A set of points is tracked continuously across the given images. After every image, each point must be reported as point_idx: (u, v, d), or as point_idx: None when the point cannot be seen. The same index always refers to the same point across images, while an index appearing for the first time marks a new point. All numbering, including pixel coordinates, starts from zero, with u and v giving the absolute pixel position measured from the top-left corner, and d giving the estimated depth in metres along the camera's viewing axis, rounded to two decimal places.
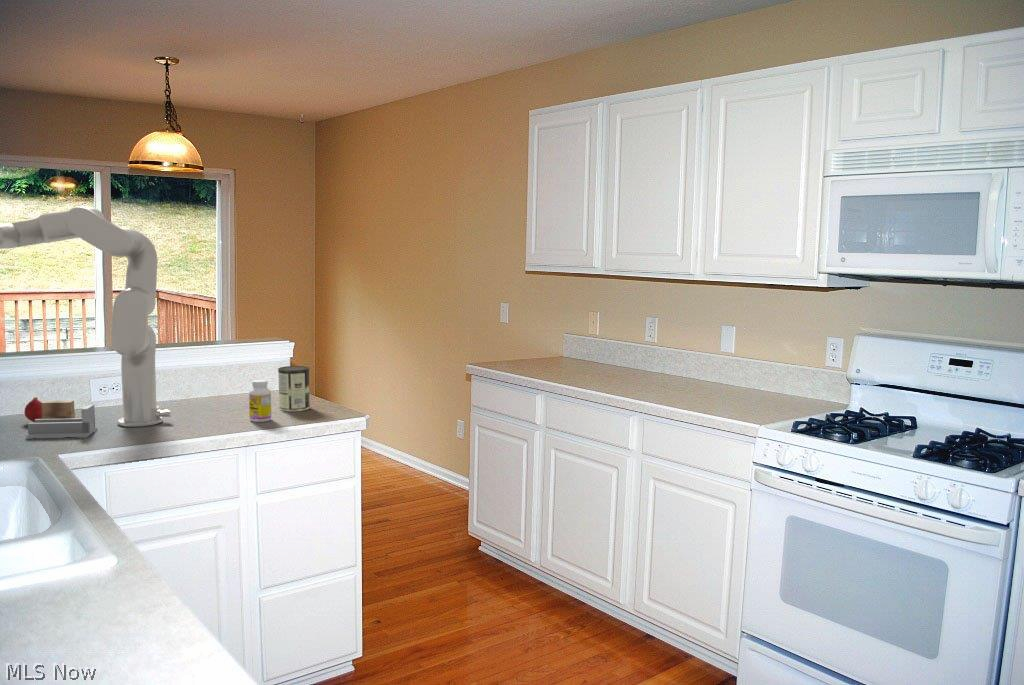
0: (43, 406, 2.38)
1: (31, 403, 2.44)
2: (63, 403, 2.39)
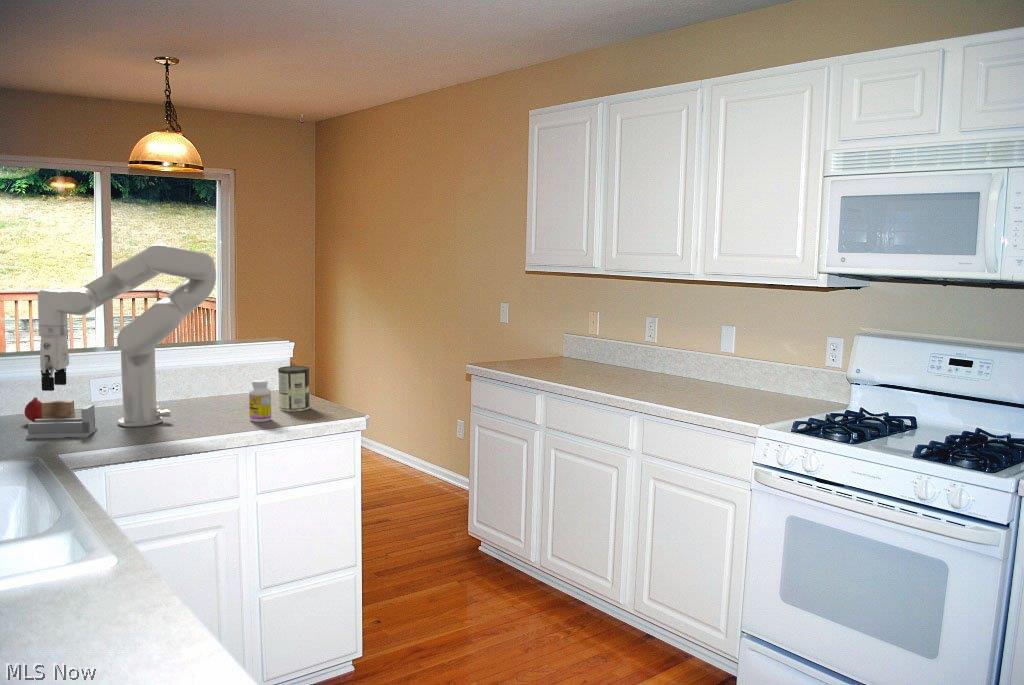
0: (43, 406, 2.38)
1: (31, 403, 2.44)
2: (63, 403, 2.39)
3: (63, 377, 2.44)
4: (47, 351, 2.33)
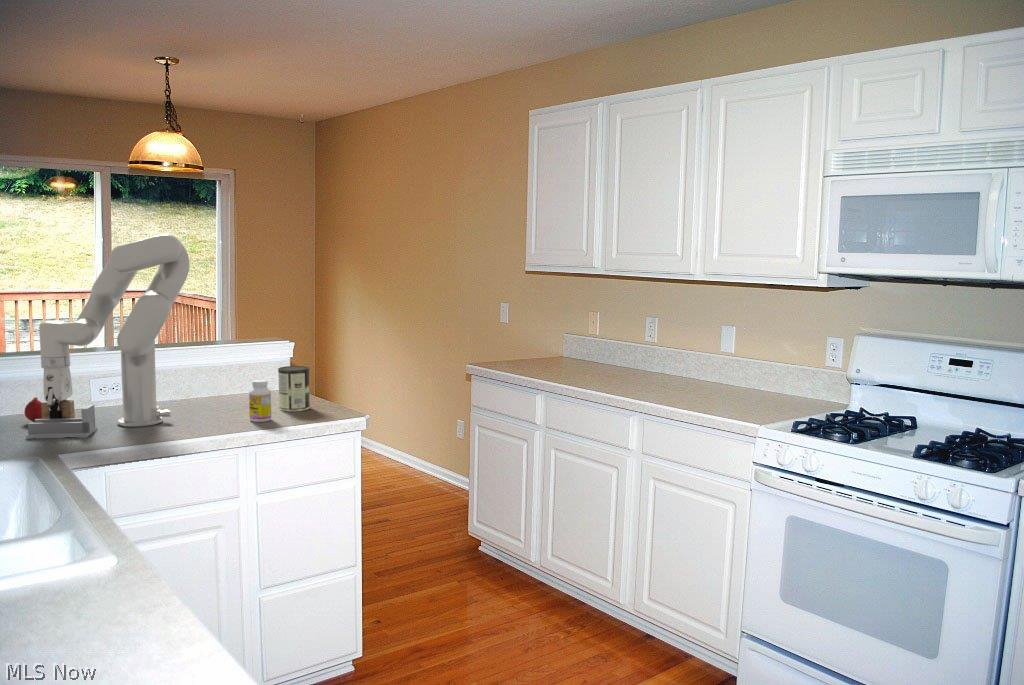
0: (43, 406, 2.38)
1: (31, 403, 2.44)
2: (63, 403, 2.39)
3: None
4: (50, 383, 2.35)
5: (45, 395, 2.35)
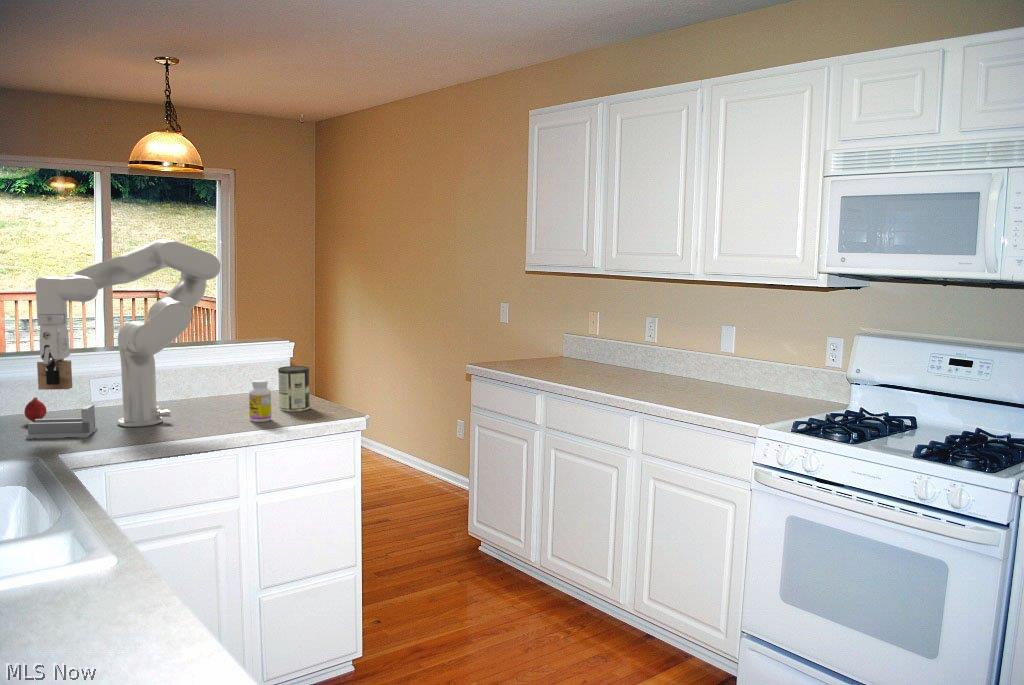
0: (39, 365, 2.28)
1: (31, 403, 2.44)
2: (60, 362, 2.29)
3: None
4: (47, 341, 2.25)
5: (41, 354, 2.25)
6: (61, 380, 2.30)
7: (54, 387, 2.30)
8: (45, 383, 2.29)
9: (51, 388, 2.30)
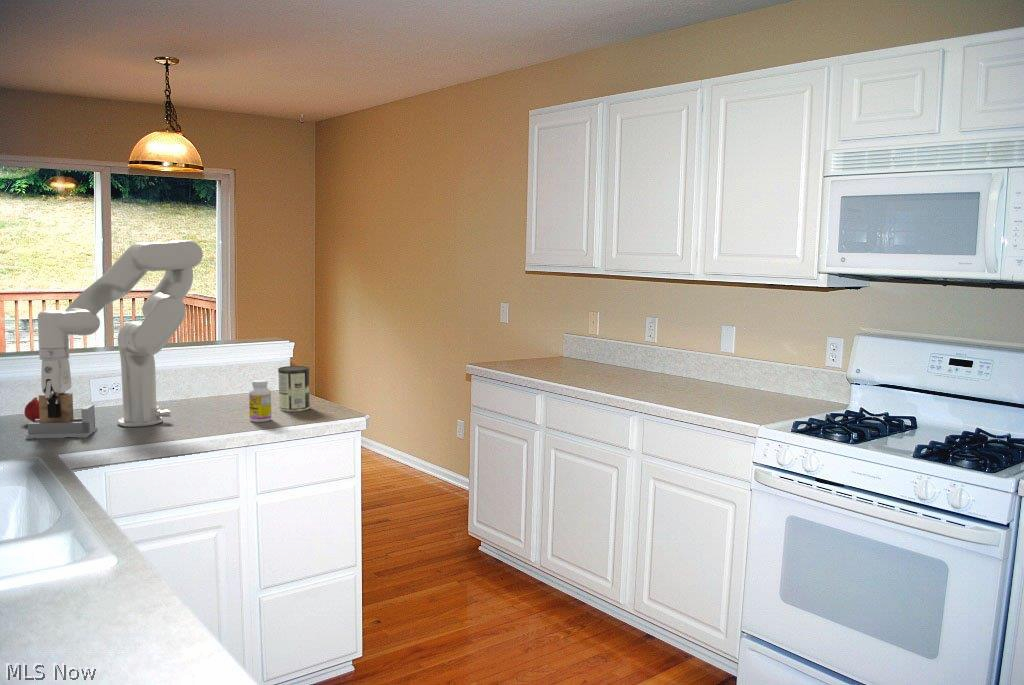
0: (40, 399, 2.30)
1: (31, 403, 2.44)
2: (61, 396, 2.30)
3: None
4: (48, 375, 2.26)
5: (43, 387, 2.26)
6: (62, 414, 2.31)
7: (55, 420, 2.31)
8: (47, 416, 2.30)
9: (52, 421, 2.31)
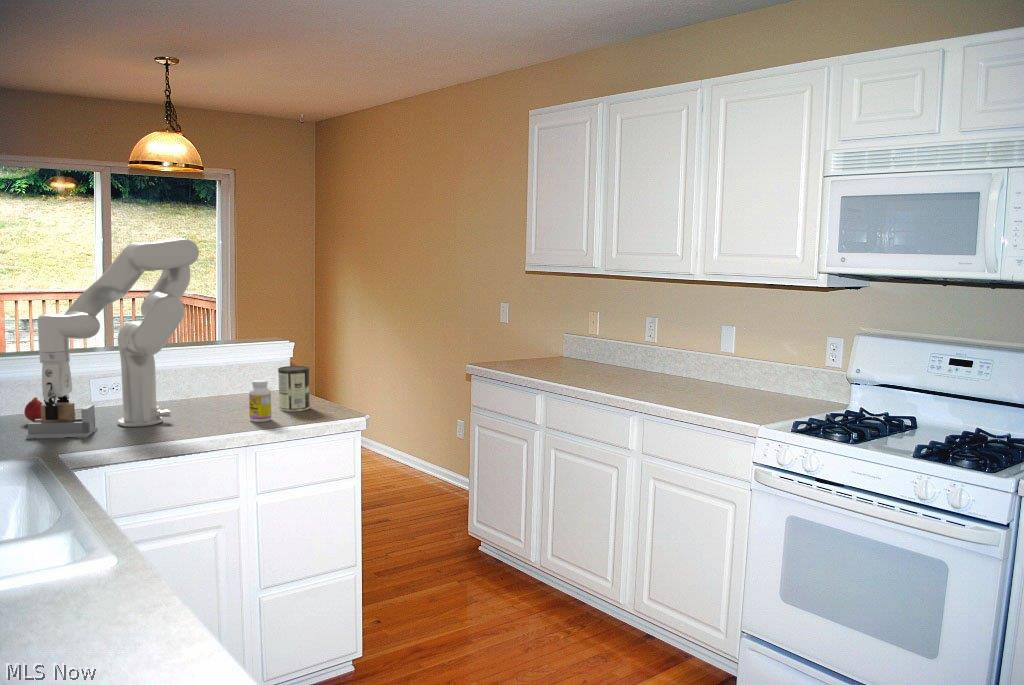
0: (42, 408, 2.30)
1: (31, 403, 2.44)
2: (63, 405, 2.31)
3: None
4: (49, 378, 2.26)
5: (44, 391, 2.26)
6: None
7: None
8: None
9: None
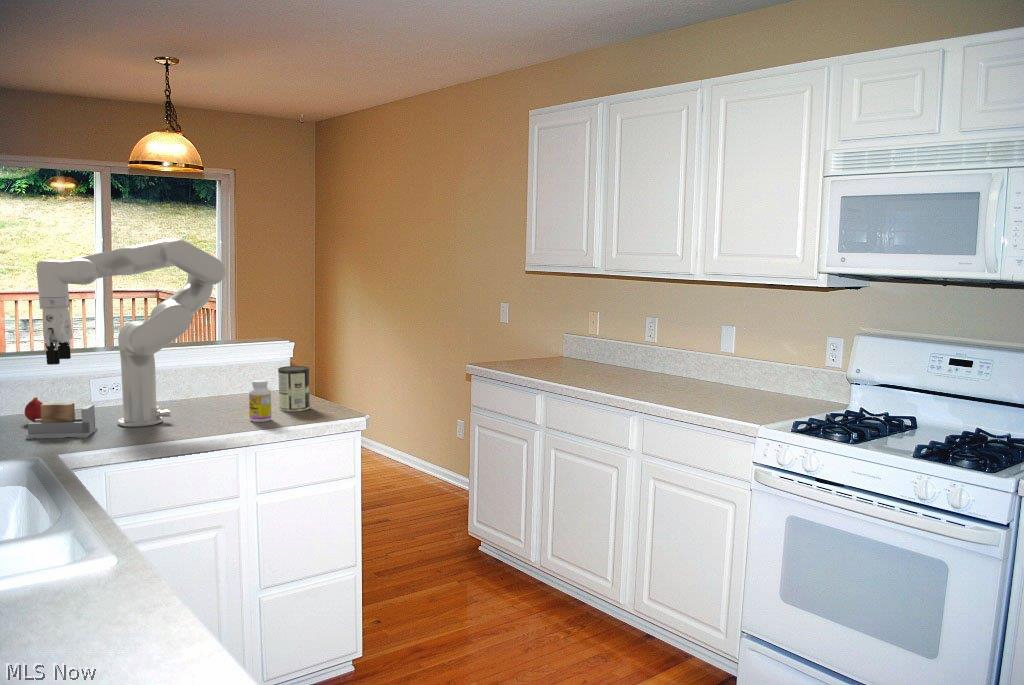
0: (42, 408, 2.30)
1: (31, 403, 2.44)
2: (63, 405, 2.31)
3: (67, 351, 2.37)
4: (50, 323, 2.26)
5: None
6: None
7: None
8: None
9: None
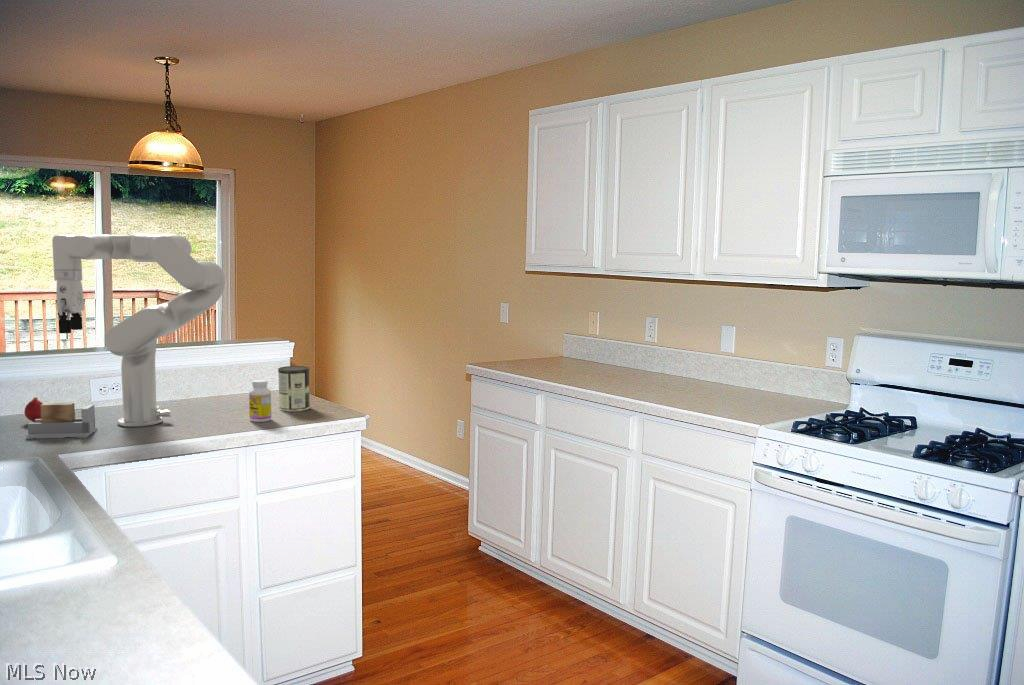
0: (42, 408, 2.30)
1: (31, 403, 2.44)
2: (63, 405, 2.31)
3: (79, 322, 2.50)
4: (63, 294, 2.40)
5: None
6: None
7: None
8: None
9: None
